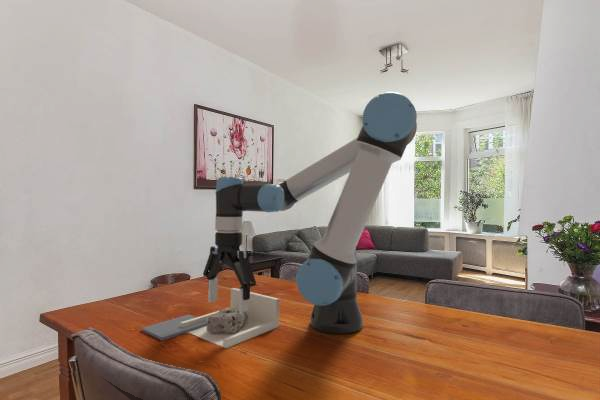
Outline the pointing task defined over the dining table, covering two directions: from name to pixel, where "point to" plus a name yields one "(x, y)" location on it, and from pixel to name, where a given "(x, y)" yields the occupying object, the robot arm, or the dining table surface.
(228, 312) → the stone
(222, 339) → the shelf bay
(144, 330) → the slate pad
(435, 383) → the dining table surface
